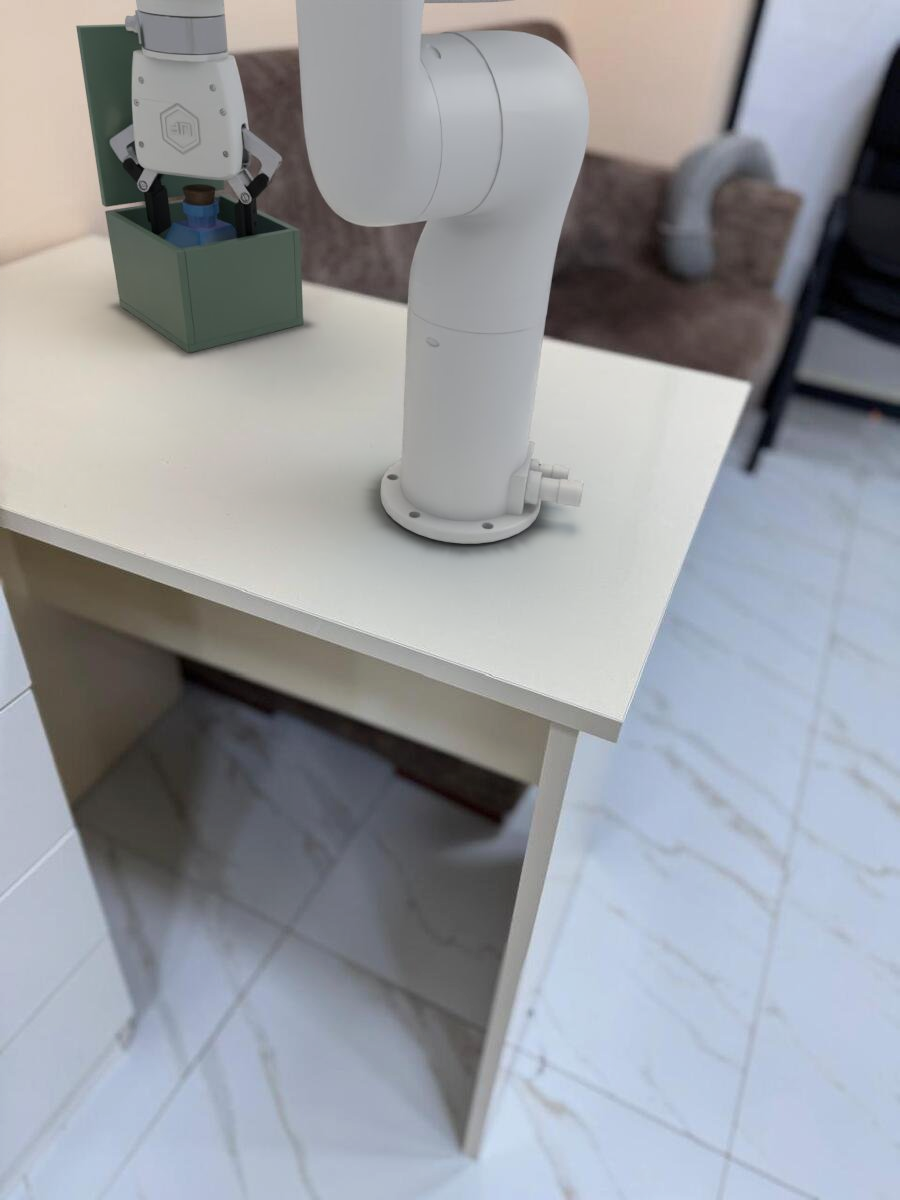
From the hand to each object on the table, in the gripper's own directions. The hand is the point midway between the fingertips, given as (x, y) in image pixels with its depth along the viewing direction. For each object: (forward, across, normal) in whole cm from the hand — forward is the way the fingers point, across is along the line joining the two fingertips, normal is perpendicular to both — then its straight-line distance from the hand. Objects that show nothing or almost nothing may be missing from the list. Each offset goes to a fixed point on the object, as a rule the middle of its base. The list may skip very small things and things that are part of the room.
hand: (204, 235), depth 92 cm
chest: (+8, 0, 0) cm, 8 cm away
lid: (-10, -5, +4) cm, 12 cm away
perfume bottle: (+8, 0, 0) cm, 8 cm away
